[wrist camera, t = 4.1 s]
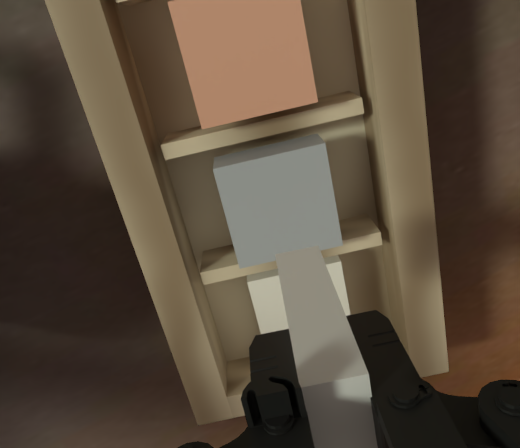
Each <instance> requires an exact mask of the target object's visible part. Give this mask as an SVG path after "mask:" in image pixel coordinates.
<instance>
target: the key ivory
mask: <svg viewBox="0 0 520 448" xmlns="http://www.w3.org/2000/svg"><path fill="white" fill-rule="evenodd" d="M323 259H324V261H325V264H326V267H327V269H328V272H329V274H330V277H331V279H332V282H333V284H334V287H335V289H336V292H337V294H338V297H339V300H340V302H341V305H342V307H343V310H344V312H345V315H346V316H348V315H350V309H349V303H348V298H347V292H346V287H345V281H344V275H343V270H342V264H341V260H340V258H339V256H338V255H335V256H331V257H326V258H323ZM247 284H248V288H249V291H250V295H251V299H252V303H253V306H254V310H255V314H256V318H257V321H258V325H259V329H260V332H261V334H265V333H270V332H275V331H280V330H285V329H289V327H288V322H287V317H286V311H285V306H284V300H283V295H282V290H281V284H280V279H279V274H278V268H277V269H273V270H269V271H264V272H260V273H255V274H251V275H247Z"/></svg>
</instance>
